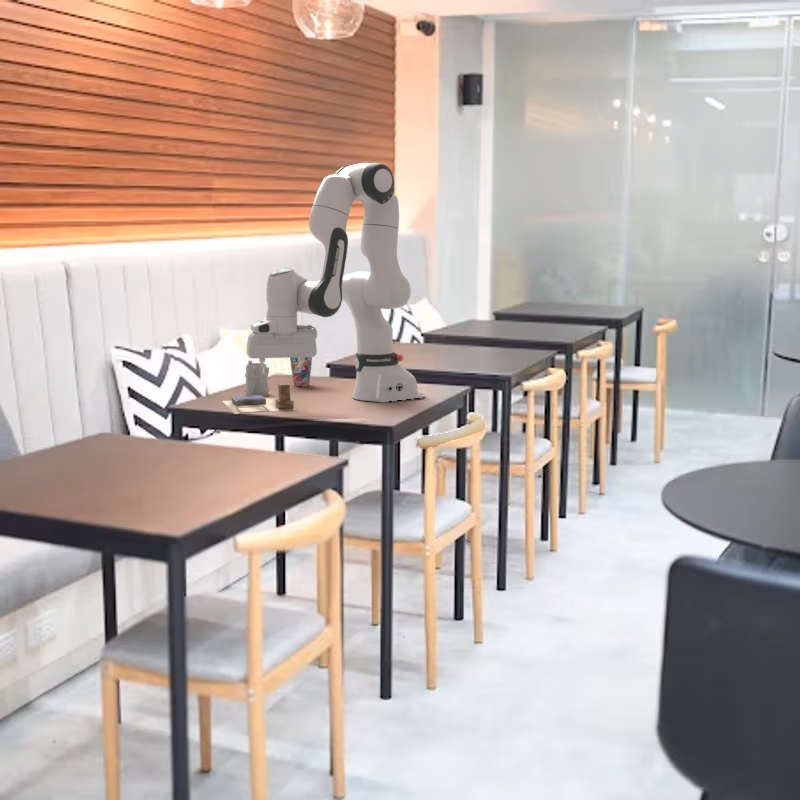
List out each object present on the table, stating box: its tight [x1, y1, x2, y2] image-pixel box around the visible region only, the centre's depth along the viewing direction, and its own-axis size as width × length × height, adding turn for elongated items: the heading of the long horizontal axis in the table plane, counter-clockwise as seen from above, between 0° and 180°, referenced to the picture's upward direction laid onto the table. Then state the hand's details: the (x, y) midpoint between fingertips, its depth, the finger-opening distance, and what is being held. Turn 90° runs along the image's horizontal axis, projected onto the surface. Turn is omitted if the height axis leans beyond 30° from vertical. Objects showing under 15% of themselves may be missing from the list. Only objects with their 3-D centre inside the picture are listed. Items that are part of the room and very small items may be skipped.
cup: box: [289, 357, 313, 387], centre depth 369 cm, size 9×8×12 cm
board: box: [222, 395, 297, 415], centre depth 330 cm, size 18×21×3 cm
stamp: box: [276, 382, 295, 410], centre depth 325 cm, size 4×4×7 cm
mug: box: [244, 360, 270, 397], centre depth 349 cm, size 8×12×12 cm, turn 170°
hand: (281, 373), depth 323 cm, fingers open, 8 cm apart
